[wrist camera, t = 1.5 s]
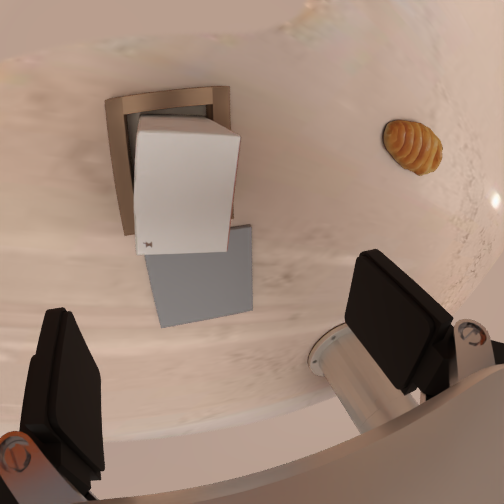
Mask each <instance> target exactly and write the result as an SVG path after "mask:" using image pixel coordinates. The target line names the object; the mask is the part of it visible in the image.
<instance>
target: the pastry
mask: <svg viewBox="0 0 504 504" xmlns="http://www.w3.org/2000/svg"><path fill="white" fill-rule="evenodd" d="M384 144H385V146H386V149H387V150H388V151H389V153H390V154H391V155H392V156H393V158H394V159H395V160H396V162H398V163H399V164H400V165H401V167H402V168H404V169H408V170H410V171H412V172H414V173H415V174H417V175H418V176H422V175H424V174H428V173H430V172H434V171H435V170H436V169H437V168H438V166H439V164H440V162H441V160H442V150H443V147H442V144H441V141H440V140H439V138H438V137H437V136H436V135H435V134H434V133H433V132H432V130H431V129H430V128H428V127H426V126H424V125H422V124H421V123H417V122H409V121H404V120H395V121H392V122H389V123H388V124H387V126H386V129H385V132H384Z"/></svg>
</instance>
